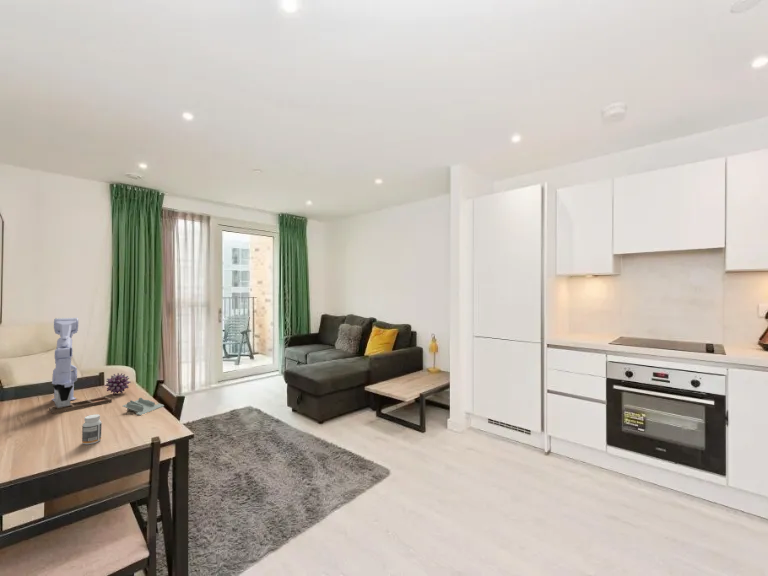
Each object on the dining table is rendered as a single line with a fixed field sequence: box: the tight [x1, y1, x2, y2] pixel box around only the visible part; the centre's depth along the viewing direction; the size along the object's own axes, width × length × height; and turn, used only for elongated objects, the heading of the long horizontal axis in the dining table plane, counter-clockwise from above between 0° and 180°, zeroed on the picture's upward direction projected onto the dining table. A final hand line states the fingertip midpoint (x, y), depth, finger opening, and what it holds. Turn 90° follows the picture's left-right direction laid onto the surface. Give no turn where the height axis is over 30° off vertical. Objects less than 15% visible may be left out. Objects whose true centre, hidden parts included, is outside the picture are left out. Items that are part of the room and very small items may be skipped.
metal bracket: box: [122, 397, 165, 416], centre depth 175 cm, size 14×6×15 cm
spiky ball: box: [104, 372, 132, 395], centre depth 202 cm, size 12×12×12 cm
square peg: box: [54, 389, 71, 408], centre depth 174 cm, size 5×5×8 cm
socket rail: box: [48, 396, 112, 415], centre depth 180 cm, size 8×23×2 cm, turn 146°
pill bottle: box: [81, 413, 103, 446], centre depth 137 cm, size 6×6×10 cm
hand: (62, 399), depth 174 cm, fingers closed on square peg, 5 cm apart
